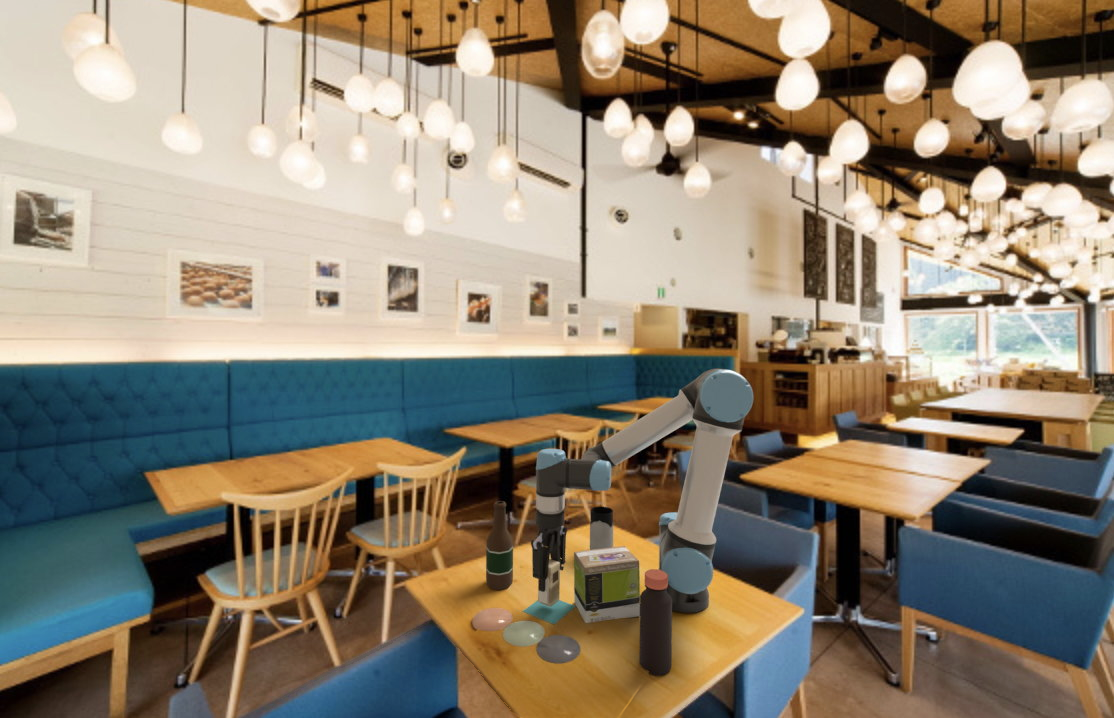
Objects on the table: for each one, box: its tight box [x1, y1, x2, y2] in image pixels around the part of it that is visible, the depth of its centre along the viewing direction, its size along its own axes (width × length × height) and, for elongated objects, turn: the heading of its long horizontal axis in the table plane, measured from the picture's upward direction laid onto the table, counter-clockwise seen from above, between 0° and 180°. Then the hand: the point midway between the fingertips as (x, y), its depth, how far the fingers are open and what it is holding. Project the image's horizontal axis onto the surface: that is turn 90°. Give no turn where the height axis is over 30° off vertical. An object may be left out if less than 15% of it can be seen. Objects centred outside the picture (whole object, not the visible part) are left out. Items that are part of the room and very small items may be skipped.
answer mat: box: [522, 599, 576, 625], centre depth 120 cm, size 10×10×1 cm
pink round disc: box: [471, 607, 514, 632], centre depth 116 cm, size 10×10×1 cm
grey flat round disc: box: [535, 634, 581, 664], centre depth 104 cm, size 10×10×1 cm
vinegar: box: [638, 568, 673, 677], centre depth 99 cm, size 7×7×20 cm
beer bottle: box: [485, 500, 514, 591], centre depth 134 cm, size 8×8×24 cm
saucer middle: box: [502, 620, 546, 647], centre depth 110 cm, size 10×10×1 cm
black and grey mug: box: [589, 505, 614, 550], centre depth 157 cm, size 9×14×15 cm, turn 164°
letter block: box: [537, 558, 561, 607], centre depth 120 cm, size 4×4×10 cm
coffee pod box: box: [573, 545, 641, 624], centre depth 121 cm, size 15×10×15 cm, turn 104°
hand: (549, 597), depth 120 cm, fingers closed on letter block, 4 cm apart
